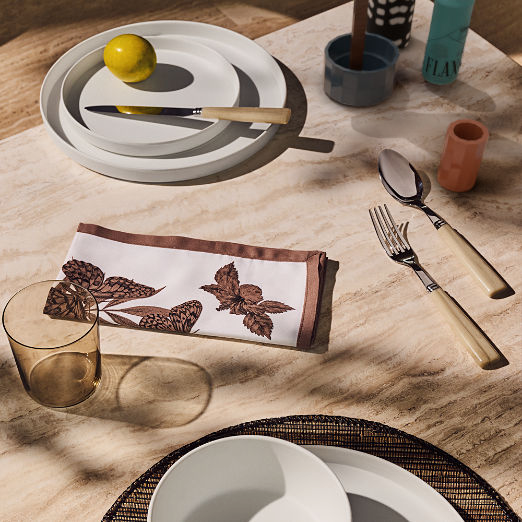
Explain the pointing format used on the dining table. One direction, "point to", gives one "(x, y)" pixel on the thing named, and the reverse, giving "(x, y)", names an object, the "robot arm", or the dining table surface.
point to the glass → (391, 20)
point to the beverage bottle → (446, 40)
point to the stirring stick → (358, 34)
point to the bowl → (360, 82)
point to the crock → (462, 154)
